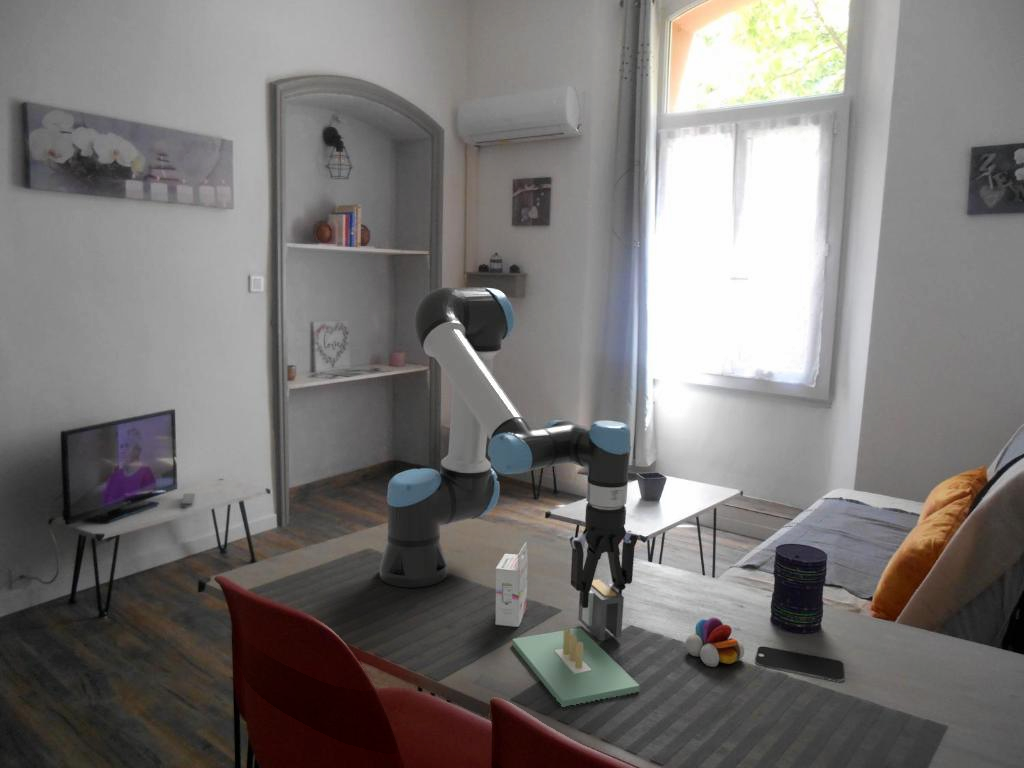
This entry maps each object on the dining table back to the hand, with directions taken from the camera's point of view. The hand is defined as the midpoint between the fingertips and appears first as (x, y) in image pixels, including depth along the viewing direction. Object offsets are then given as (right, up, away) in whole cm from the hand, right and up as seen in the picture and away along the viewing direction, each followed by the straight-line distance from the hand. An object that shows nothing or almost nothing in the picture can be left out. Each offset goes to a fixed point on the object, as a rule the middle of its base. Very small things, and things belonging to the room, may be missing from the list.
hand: (599, 620), depth 151 cm
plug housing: (0, -2, 0) cm, 2 cm away
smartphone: (+35, -5, -10) cm, 37 cm away
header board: (-6, -4, -13) cm, 15 cm away
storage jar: (+40, -3, +6) cm, 40 cm away
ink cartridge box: (-17, -1, +6) cm, 18 cm away
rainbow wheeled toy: (+20, -5, -8) cm, 22 cm away
